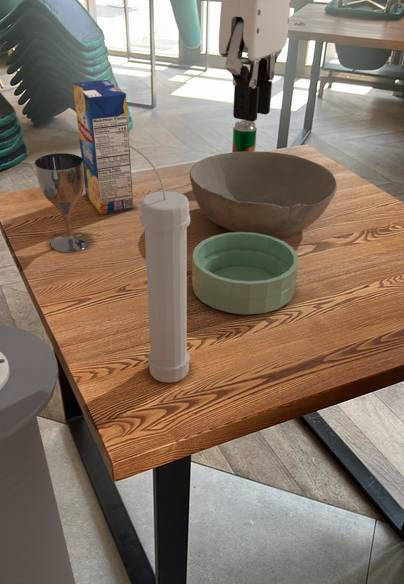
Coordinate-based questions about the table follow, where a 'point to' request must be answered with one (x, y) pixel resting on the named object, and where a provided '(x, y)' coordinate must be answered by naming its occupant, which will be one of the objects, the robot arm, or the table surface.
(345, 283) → the table surface
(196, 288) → the green round dish
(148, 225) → the pipe
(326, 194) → the bowl
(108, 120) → the cereal box
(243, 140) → the soda can
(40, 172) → the wine glass
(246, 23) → the robot arm
